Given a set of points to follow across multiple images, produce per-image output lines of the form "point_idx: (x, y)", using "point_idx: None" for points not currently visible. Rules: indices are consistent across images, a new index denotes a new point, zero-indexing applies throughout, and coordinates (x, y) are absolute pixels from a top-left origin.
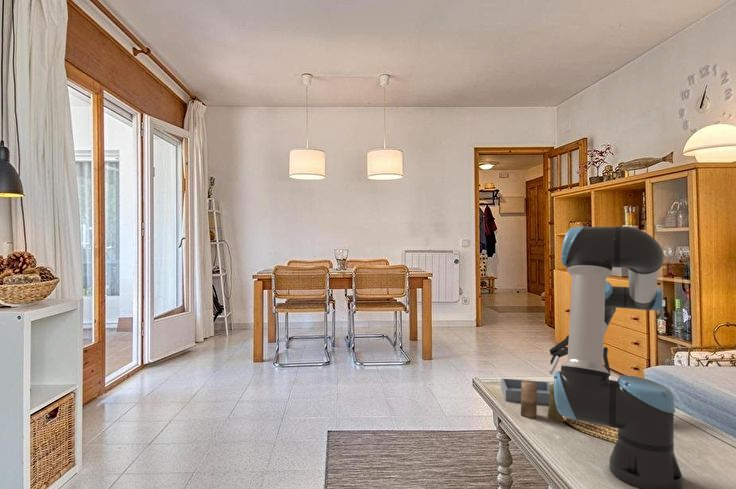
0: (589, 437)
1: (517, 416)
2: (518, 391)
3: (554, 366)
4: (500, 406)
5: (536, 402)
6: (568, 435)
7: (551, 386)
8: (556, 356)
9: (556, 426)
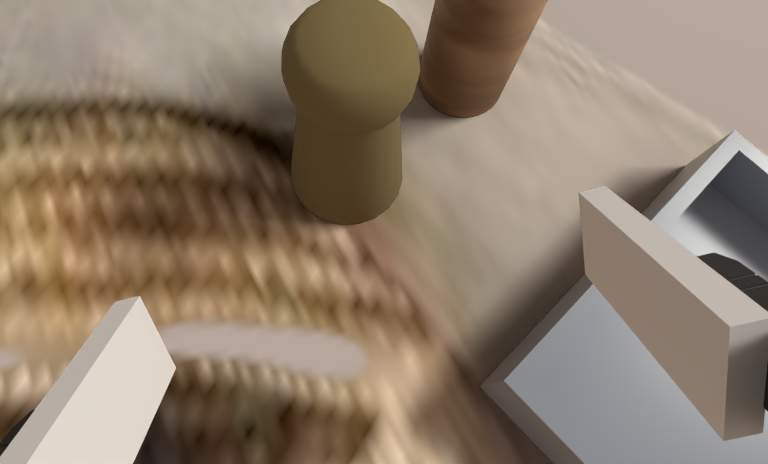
0: (104, 73)
1: None
2: (683, 185)
3: (624, 268)
4: (627, 72)
5: (434, 30)
6: (190, 18)
7: (380, 2)
8: (750, 308)
9: None
